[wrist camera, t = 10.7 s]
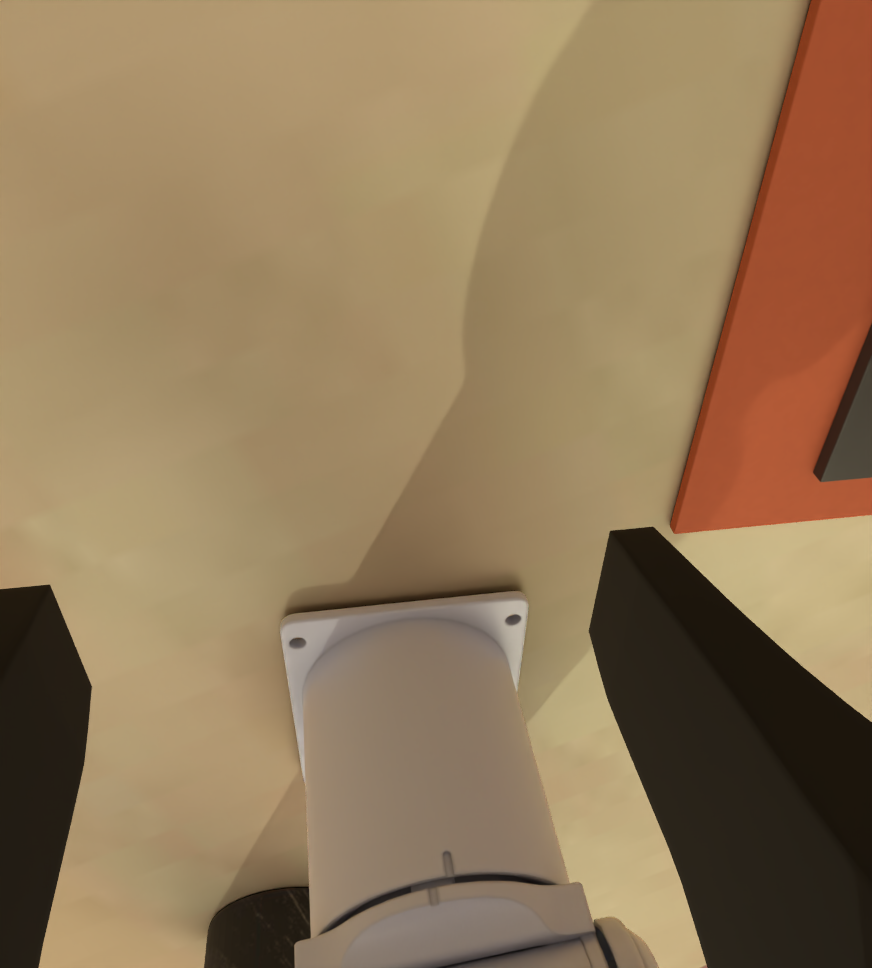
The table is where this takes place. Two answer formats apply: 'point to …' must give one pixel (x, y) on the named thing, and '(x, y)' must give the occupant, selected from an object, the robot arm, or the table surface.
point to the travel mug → (259, 930)
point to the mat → (795, 300)
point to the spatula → (851, 427)
